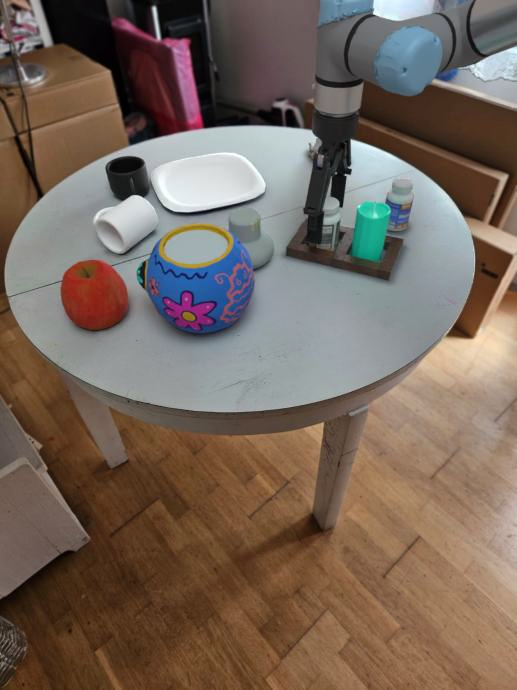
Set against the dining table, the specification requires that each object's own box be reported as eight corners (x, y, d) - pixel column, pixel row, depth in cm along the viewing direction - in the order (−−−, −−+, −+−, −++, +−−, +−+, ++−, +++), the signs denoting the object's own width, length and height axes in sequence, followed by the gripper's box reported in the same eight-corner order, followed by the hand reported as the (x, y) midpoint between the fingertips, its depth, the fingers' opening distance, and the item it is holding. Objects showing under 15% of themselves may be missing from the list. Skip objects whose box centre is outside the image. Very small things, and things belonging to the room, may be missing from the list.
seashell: (329, 174, 115) (332, 136, 109) (294, 158, 122) (296, 121, 115) (356, 161, 120) (361, 123, 113) (321, 146, 126) (324, 109, 119)
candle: (387, 255, 93) (399, 200, 84) (369, 269, 90) (380, 214, 81) (361, 243, 96) (370, 189, 87) (344, 257, 93) (351, 202, 84)
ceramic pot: (193, 272, 91) (182, 201, 80) (274, 301, 84) (274, 230, 73) (134, 328, 81) (112, 256, 70) (220, 367, 74) (211, 295, 63)
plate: (240, 153, 124) (239, 147, 123) (276, 200, 108) (276, 193, 106) (145, 171, 118) (143, 165, 117) (168, 224, 102) (166, 217, 101)
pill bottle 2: (399, 235, 97) (409, 192, 90) (376, 226, 100) (384, 183, 93) (411, 223, 100) (422, 181, 93) (389, 215, 103) (397, 173, 95)
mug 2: (161, 234, 99) (154, 200, 94) (129, 259, 94) (120, 224, 88) (119, 219, 104) (110, 185, 98) (86, 242, 98) (74, 208, 92)
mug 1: (110, 188, 113) (102, 159, 108) (147, 181, 115) (141, 152, 110) (117, 213, 106) (109, 183, 100) (156, 205, 107) (151, 176, 102)
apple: (107, 286, 88) (91, 238, 80) (145, 310, 83) (132, 262, 76) (58, 317, 83) (36, 269, 75) (96, 346, 78) (76, 297, 70)
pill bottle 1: (321, 234, 98) (325, 191, 91) (342, 246, 95) (348, 202, 88) (303, 246, 95) (305, 202, 88) (324, 258, 93) (329, 214, 85)
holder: (402, 247, 95) (404, 238, 93) (388, 280, 88) (390, 272, 86) (305, 225, 101) (306, 217, 99) (286, 255, 94) (286, 247, 92)
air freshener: (280, 256, 93) (281, 211, 86) (260, 280, 89) (259, 235, 81) (233, 241, 97) (230, 197, 90) (211, 263, 92) (206, 218, 85)
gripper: (337, 80, 84) (327, 189, 100) (286, 136, 69) (283, 254, 85) (378, 85, 82) (361, 195, 98) (335, 144, 67) (323, 264, 83)
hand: (325, 223), depth 91 cm, fingers open, 13 cm apart
